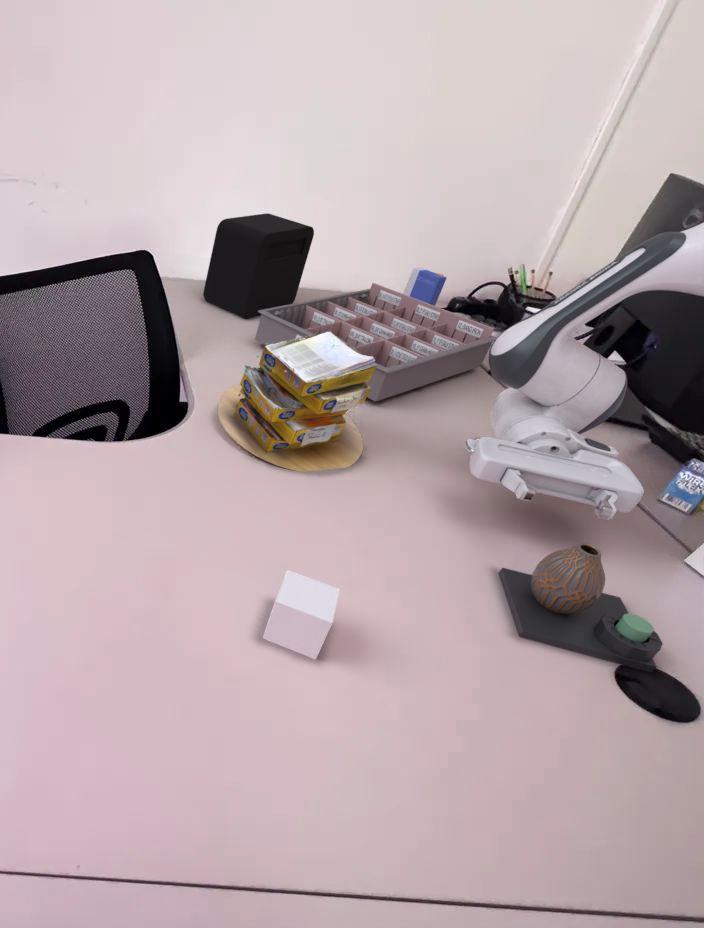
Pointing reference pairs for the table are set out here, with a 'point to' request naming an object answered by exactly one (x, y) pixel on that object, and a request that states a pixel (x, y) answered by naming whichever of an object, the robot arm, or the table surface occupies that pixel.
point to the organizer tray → (386, 335)
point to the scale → (577, 626)
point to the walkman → (425, 285)
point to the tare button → (634, 628)
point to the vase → (569, 579)
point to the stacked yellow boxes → (300, 404)
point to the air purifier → (256, 263)
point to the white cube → (302, 614)
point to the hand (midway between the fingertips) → (566, 505)
